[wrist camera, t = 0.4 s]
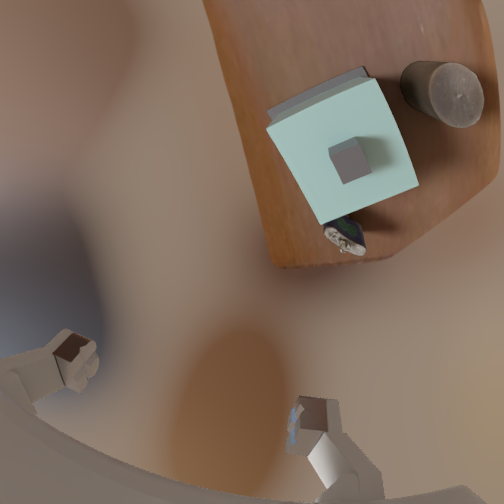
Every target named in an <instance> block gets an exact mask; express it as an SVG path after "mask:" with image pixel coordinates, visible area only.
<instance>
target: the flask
mask: <svg viewBox="0 0 504 504" xmlns="http://www.w3.org/2000/svg"><path fill="white" fill-rule="evenodd" d="M323 225H324V234H325V236H326V237H327V238H328V239H330V240H331V241H332V242H333V243H334V244H336V245H337V246H339V247H340V248H342V249H343V250H344V251H348V252H350V253H353V254H355V255H358V256H362V255H364V254H365V253H366V246H365V242H364V237H363V232H362V227H361V225H360V224H359V223H358V222H357V221H356V220H355V221H354V220H353V219H351V218H350V217H349V216H348V215H344V216H341V217H339V218H336V219H334V220H331V221H329V222H326V223H324V224H323ZM342 249H340V251H341V253H343V251H342ZM344 253H345V252H344Z"/></svg>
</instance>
